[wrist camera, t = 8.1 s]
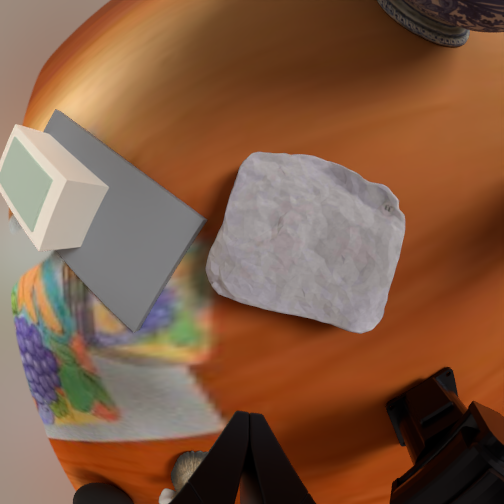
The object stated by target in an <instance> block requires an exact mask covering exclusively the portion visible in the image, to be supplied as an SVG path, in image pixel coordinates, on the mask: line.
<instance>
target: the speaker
mask: <svg viewBox="0 0 504 504" xmlns="http://www.w3.org/2000/svg"><path fill="white" fill-rule="evenodd" d="M73 504H134V503H133V502H132V500H131V499H130V498H129V497H128V496H127V495H126V494H125V493H124V492H122V491H121V490H119V489H118V488H116V487H114V486H111V485H108V484H104V483H89V484H86V485H84V486H82V487H80V488H79V489H78V490H77V491H76V493H75V495H74V498H73Z"/></svg>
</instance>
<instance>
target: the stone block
mask: <svg viewBox="0 0 504 504" xmlns="http://www.w3.org/2000/svg"><path fill="white" fill-rule="evenodd" d="M404 233H405V215H404V214H403V213H402V212H401V211H400V210H399V201H398V198H397V197H396V196H395V195H394V194H393V193H392V192H391V191H390V189H389V188H388V187H386V186H385V185H383V184H378V183H372V182H369V181H367V180H365V179H363V178H362V177H361V176H360V175H359V174H358V173H356V172H354V171H352V170H349V169H347V168H346V167H344V166H342V165H339V164H336V163H333V162H330V161H326V160H323V159H321V158H318V157H315V156H311V155H304V154H294V155H289V154H286V153H280V154H277V153H264V152H256V153H252V154H251V155H250V156H249V157H248V158H247V159H245V160H244V161H243V163H242V165H241V166H240V167H239V170H238V174H237V177H236V180H235V182H234V187H233V189H232V191H231V194H230V197H229V201H228V204H227V207H226V212H225V216H224V221H223V224H222V226H221V228H220V230H219V232H218V234H217V237H216V239H215V242H214V244H213V245H212V247H211V249H210V251H209V255H208V259H207V264H206V269H205V270H206V274H207V277H208V280H209V282H210V283H211V286H212V287H213V289H214V290H215V291H216V292H217V293H218V294H219V295H222V296H225V297H228V298H230V299H232V300H235V301H238V302H240V303H244V304H247V305H251V306H255V307H259V308H262V309H266V310H270V311H274V312H279V313H284V314H290V315H296V316H302V317H306V318H310V319H314V320H317V321H320V322H323V323H328V324H332V325H334V326H336V327H339V328H341V329H344V330H346V331H350V332H355V333H364V332H368V331H371V330H372V329H373V328H374V327H375V326H376V325H377V324H378V323H379V322H380V320H381V319H382V317H383V314H384V307H385V305H386V302H387V298H388V292H389V289H390V285H391V282H392V279H393V276H394V273H395V269H396V265H397V262H398V260H399V256H400V251H401V246H402V242H403V238H404Z"/></svg>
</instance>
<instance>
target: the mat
mask: <svg viewBox="0 0 504 504" xmlns="http://www.w3.org/2000/svg"><path fill="white" fill-rule="evenodd" d="M44 133H48V134H50V135H51V136H52V137H53V138H54V139H55V140H56V141H58V142H59V143H60V144H61V145H62V146H63V147H64V148H65V149H66V150H67V151H69V152H70V153H71V154H72V155H73V156H74V157H75V158H76V159H77V160H79V161H80V162H81V163H82V164H83V165H84V166H85V167H87V168H88V169H89V170H90V171H91V172H92V173H93V174H94V175H96V176H97V177H98V178H99V179H100V180H101V181H103V182H104V183H105V184H106V185H107V186H108V187H109V189H108V191H107V193H106V194H105V196H104V198H103V200H102V202H101V204H100V206H99V208H98V210H97V212H96V214H95V216H94V218H93V220H92V223H91V225H90V227H89V229H88V231H87V233H86V236H85V238H84V240H83V243H82V245H81V247H76V248H67V249H58V250H56V251H57V252H58V254H59V255H60V256H61V257H62V259H63V260H64V261H65V262H66V263H67V264H68V266H69V267H70V268H71V269H72V270H73V271H74V272H75V274H76V275H77V276H78V277H79V278H80V279H81V280H82V281H83V282H84V283H85V285H86V286H87V287H88V288H89V289H90V290H91V291H92V292H93V293H94V294H95V295H96V296H97V297H98V298H99V299H100V300H101V301H102V302H103V303H104V304H105V305H106V306H107V307H108V308H109V309H110V310H111V311H112V312H113V313H114V314H115V315H116V316H117V317H118V318H119V319H120V320H121V321H122V322H123V323H124V324H125V325H126V326H128V327H129V328H130V329H131V330H132V331H133V332H134V333H135V332H137V331H138V330H140V328H141V326H142V324H143V323H144V321H145V319H146V318H147V316H148V314H149V312H150V311H151V309H152V307H153V306H154V304H155V302H156V301H157V299H158V297H159V296H160V294H161V292H162V291H163V289H164V287H165V286H166V284H167V282H168V281H169V279H170V278H171V276H172V274H173V273H174V271H175V269H176V268H177V266H178V265H179V263H180V261H181V260H182V258H183V257H184V255H185V254H186V252H187V250H188V249H189V247H190V246H191V244H192V243H193V241H194V240H195V238H196V237H197V235H198V233H199V232H200V230H201V229H202V227H203V226H204V224H205V223H206V221H207V219H205V218H204V217H203V216H201V215H200V214H199V213H197V212H196V211H195V210H193V209H192V208H191V207H189V206H188V205H186V204H185V203H184V202H182V201H181V200H180V199H178V198H177V197H176V196H174V195H173V194H172V193H170V192H169V191H168V190H166V189H165V188H163V187H162V186H161V185H159V184H158V183H157V182H155V181H154V180H153V179H151V178H150V177H149V176H147V175H146V174H145V173H143V172H142V171H141V170H139V169H138V168H136V167H135V166H134V165H132V164H131V163H130V162H128V161H127V160H126V159H124V158H123V157H122V156H120V155H119V154H118V153H116V152H115V151H113V150H112V149H111V148H109V147H108V146H107V145H105V144H104V143H103V142H101V141H100V140H99V139H97V138H96V137H95V136H93V135H92V134H91V133H89V132H88V131H86V130H85V129H84V128H82V127H81V126H80V125H78V124H77V123H76V122H74V121H73V120H72V119H70V118H69V117H68V116H66V115H65V114H64V113H62V112H61V111H59V110H56V109H55V111H54V113H53V115H52V117H51V118H50V120H49V122H48V124H47V126H46V128H45V130H44Z"/></svg>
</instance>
